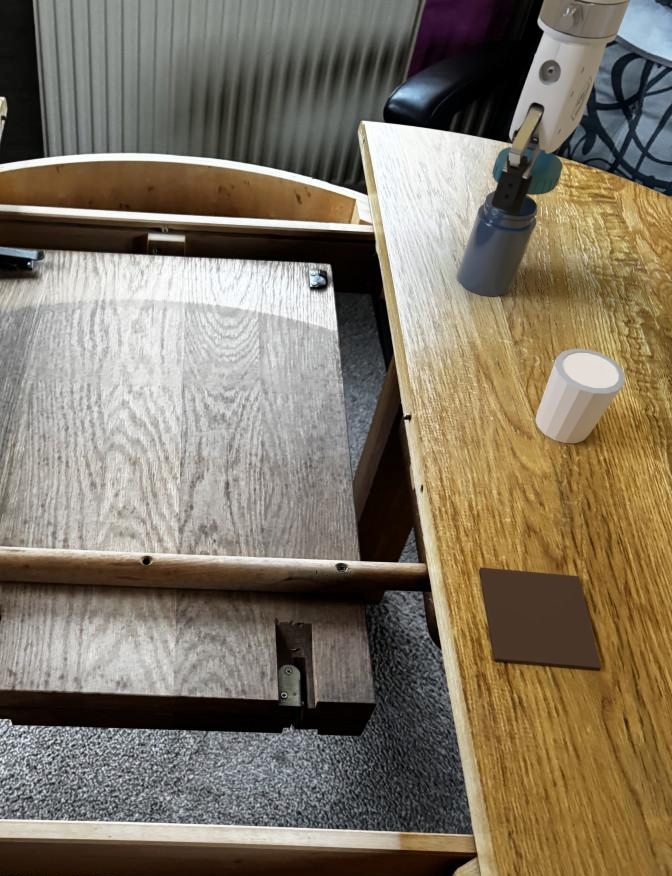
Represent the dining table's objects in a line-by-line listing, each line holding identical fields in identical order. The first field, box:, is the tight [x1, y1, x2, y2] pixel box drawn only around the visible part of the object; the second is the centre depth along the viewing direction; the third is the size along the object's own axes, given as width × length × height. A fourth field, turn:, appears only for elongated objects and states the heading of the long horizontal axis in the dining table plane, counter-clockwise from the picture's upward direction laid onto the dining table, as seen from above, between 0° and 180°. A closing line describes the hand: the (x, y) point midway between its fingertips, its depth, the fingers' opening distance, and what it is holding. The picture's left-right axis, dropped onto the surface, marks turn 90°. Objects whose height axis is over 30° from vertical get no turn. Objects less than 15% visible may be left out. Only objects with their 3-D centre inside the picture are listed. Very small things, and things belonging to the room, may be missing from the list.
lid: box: [491, 146, 564, 196], centre depth 100 cm, size 7×7×2 cm
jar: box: [456, 190, 538, 297], centre depth 107 cm, size 7×7×10 cm
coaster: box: [478, 567, 602, 671], centre depth 81 cm, size 9×10×1 cm
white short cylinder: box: [534, 348, 626, 444], centre depth 93 cm, size 7×7×7 cm
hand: (518, 193), depth 102 cm, fingers closed on lid, 6 cm apart
